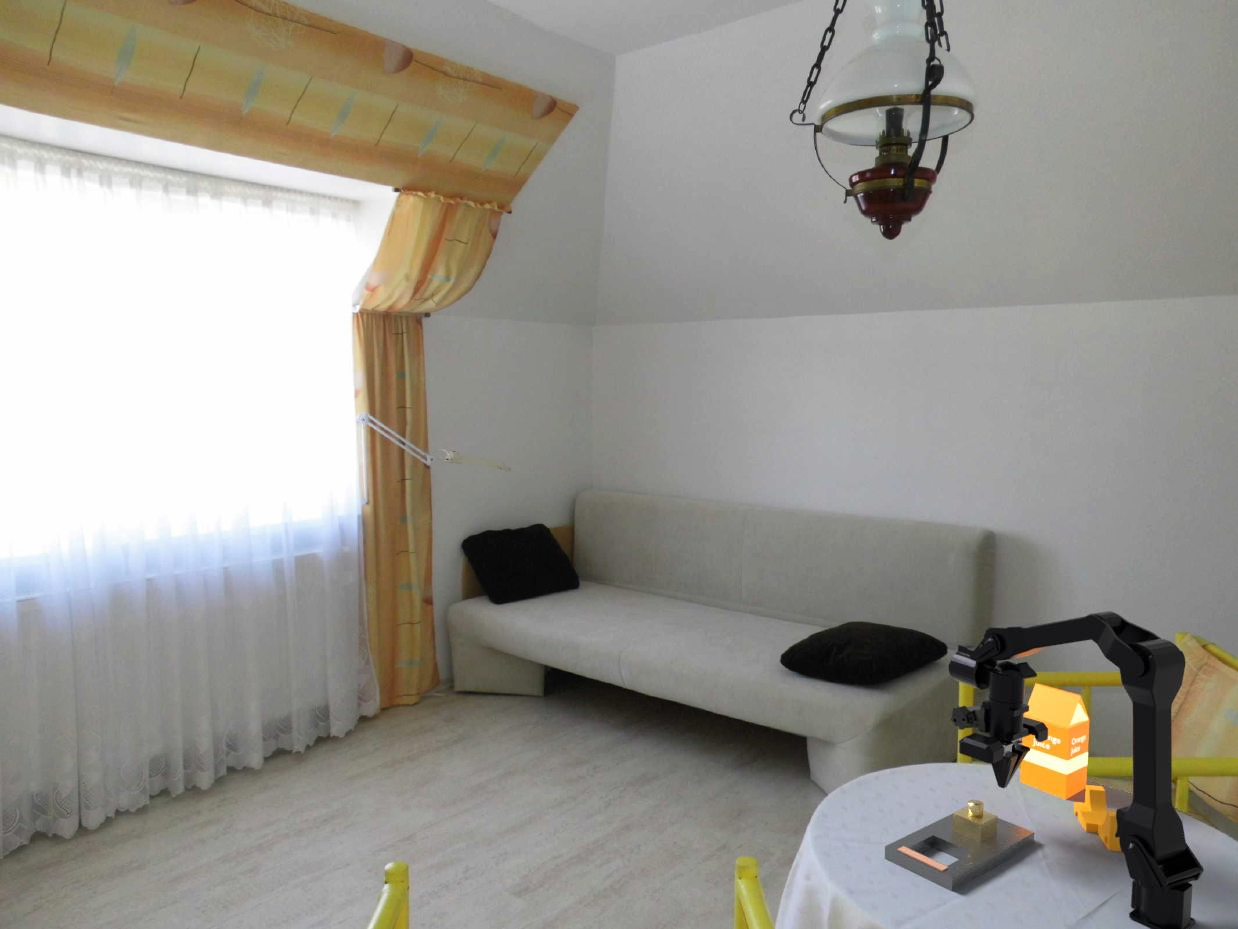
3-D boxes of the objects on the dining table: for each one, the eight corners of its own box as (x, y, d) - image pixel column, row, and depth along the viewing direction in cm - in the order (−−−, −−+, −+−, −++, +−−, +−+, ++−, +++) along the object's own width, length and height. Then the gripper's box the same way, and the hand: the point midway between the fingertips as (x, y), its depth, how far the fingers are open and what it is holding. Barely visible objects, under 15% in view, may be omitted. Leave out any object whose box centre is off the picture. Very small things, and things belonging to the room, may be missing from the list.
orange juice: (1064, 806, 164) (1070, 699, 163) (1018, 789, 171) (1023, 686, 170) (1086, 796, 169) (1091, 691, 167) (1040, 779, 176) (1045, 679, 174)
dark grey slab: (1033, 844, 150) (1034, 831, 150) (951, 891, 136) (952, 877, 135) (967, 817, 160) (968, 804, 160) (884, 858, 145) (885, 845, 145)
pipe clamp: (1073, 819, 160) (1075, 784, 159) (1099, 821, 159) (1101, 786, 158) (1097, 853, 148) (1099, 815, 147) (1125, 855, 147) (1127, 817, 147)
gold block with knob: (996, 833, 149) (998, 804, 149) (980, 842, 146) (981, 812, 146) (969, 822, 153) (970, 793, 153) (952, 830, 150) (953, 801, 150)
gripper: (991, 676, 165) (988, 759, 166) (931, 695, 154) (928, 784, 155) (1051, 692, 156) (1047, 779, 157) (993, 714, 145) (989, 808, 146)
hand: (1002, 787), depth 154 cm, fingers closed
